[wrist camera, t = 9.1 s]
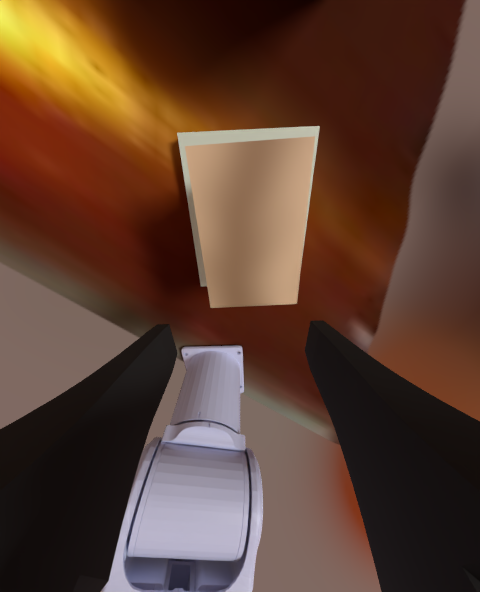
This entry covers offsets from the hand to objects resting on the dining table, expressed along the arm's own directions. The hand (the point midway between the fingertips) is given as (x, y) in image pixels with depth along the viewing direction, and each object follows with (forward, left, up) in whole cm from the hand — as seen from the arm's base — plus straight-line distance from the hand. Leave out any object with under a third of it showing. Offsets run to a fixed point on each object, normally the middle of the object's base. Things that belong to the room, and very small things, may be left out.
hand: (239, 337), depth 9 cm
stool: (+4, -1, -9) cm, 10 cm away
